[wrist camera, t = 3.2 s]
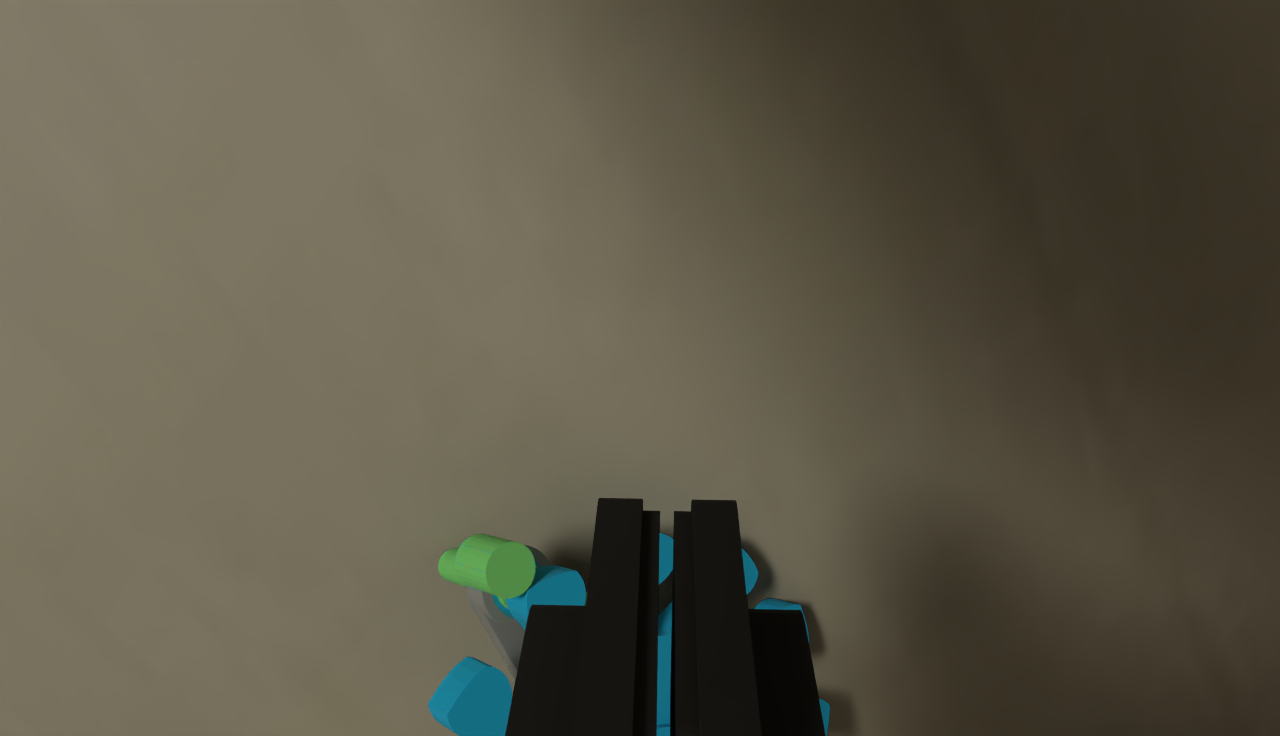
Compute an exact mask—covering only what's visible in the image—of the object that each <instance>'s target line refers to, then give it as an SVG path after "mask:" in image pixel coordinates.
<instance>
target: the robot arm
mask: <svg viewBox="0 0 1280 736" xmlns="http://www.w3.org/2000/svg"><path fill="white" fill-rule="evenodd" d="M659 540H660V511H643V499H624V498H599V499H598V506H597V515H596V524H595V532H594V541H593V550H592V558H591V567H590V576H589V585H588V593H587V602H586V606H579V605H532V606H531V607H530V610H529V614H528V618H527V623H526V628H525V634H524V639H523V644H522V649H521V654H520V660H519V665H518V670H517V675H516V680H515V686H514V691H513V696H512V701H511V706H510V712H509V717H508V722H507V727H506V732H505V736H657V675H658V608H659ZM670 736H826V735H825V729H824V724H823V718H822V713H821V707H820V702H819V696H818V691H817V685H816V680H815V674H814V669H813V663H812V658H811V652H810V647H809V641H808V636H807V630H806V625H805V620H804V616H803V613H802V611H801V610H779V609H748V603H747V594H746V585H745V575H744V566H743V557H742V547H741V538H740V529H739V519H738V510H737V503H736V500H692V502H691V512H688V511H674V539H673V584H672V630H671V675H670Z"/></svg>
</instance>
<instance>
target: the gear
mask: <svg viewBox="0 0 1280 736" xmlns="http://www.w3.org/2000/svg"><path fill="white" fill-rule="evenodd" d="M742 557H743V566H744V575H745V585H746V594H748V593H749V592H750V591H751V590H752V588H753V587H754V585H755V583H756V581H757V578H758V574H759V573H758V570H757V568H756V566H755V564H754V562H753V561H752V559H751V558H750V556H749V555H748V554H747V553H746V552H745V551H744V550H743V549H742ZM438 570H439V573H440V575H441V576H442V577H443V578H444V579H445V580H448V581H450V582H453V583H456V584H459V585H462V586H464V587H467V594H468V597H469V601H470V603H471V605H472V606H473V608H474V610H475V612H476V613H477V615H478V617H479V618H480V620H481V622H482V623H483V625H484V627H485V629H486V630H487V632H488V634H489V635H490V637H491V639H492V641H493V642H494V644H495V646H496V647H497V649H498V651H499V652H500V654H501V656H502V658H503V659H504V661H505V663H506V664H507V666H508V668H509V669H510V671H511V673H512V675H513V676H514V678H515V680H516V675H517V670H518V665H519V660H520V654H521V649H522V644H523V639H524V634H525V628H526V623H527V618H528V614H529V610H530V607H531V606H532V605H579V606H586V602H587V593H588V592H586V589H585V585H584V581H583V579H582V577H581V575H580V574H579V573H578V572H577V571H576V570H572V569H568V568H564V567H561V566H557V565H550V563H549V561H548V560H547V558H546V557H545V556H544V555H543V554H542V553H541V552H540V551H539V550H537V549H536V548H533V547H531V546H527V545H523V544H521V543H518V542H514V541H510V540H506V539H502V538H498V537H494V536H490V535H486V534H476V535H473V536H470V537H469V538H467V539H466V540H465V541H464V542H463V543H462V544H461V545H460V547H459V548H458V549H450V550H448V551H446V552H445V553H444V554H443V555H442V556H441V558H440V560H439V564H438ZM672 570H673V539H672V538H671V537H669V536H667V535H665V534H662V533H660V540H659V584H660V583H661V582H663V581H664V580H665V579H666V578H667V577H668V576H669V574H670V573H671V571H672ZM754 609H779V610H801V611H802V608H801V605H799V604H795V603H791V602H786V601H782V600H778V599H772V598H769V599H765V600H763V601H761V602H760V603H759V604H758V605H757V606H756V607H755V608H754ZM802 613H803V611H802ZM803 616H804V614H803ZM804 620H805V617H804ZM805 625H806V630H807V636H808V641H809V635H808V628H807V624H806V620H805ZM671 630H672V602H671V603H670V604H669V605H668V606H667V607H666V608H665V610H664V611H663V612H662V613H661V614H659V615H658V675H657V736H670V675H671ZM511 701H512V691H511V686H510V683H509V681H508V679H507V677H506V676H505V675H504V674H503V673H502V672H501V671H500V670H498V669H496V668H494V667H492V666H490V665H488V664H486V663H484V662H482V661H480V660H478V659H475V658H473V657H468V656H467V657H466V658H465V659H463V660H462V661H461V662H459V663H458V664H457V665H456V666H455V667H454V668H453V669H452V670H451V671H450V672H449V673H448V675H447V676H446V677H445V679H444V680H443V681H442V683H441V684H440V686H439V687H438V689H437V690H436V692H435V693H434V695H433V697H432V698H431V700H430V702H429V703H428V706H429V709H430V712H431V714H432V715H433V717H434V719H435V720H437V721H438V722H439V723H440V724H442V725H443V726H445V727H446V728H448V729H449V730H451V731H453V732H454V733H456V734H457V735H459V736H505V732H506V727H507V722H508V717H509V712H510V706H511ZM819 702H820V707H821V713H822V718H823V724H824V729H825V735H826V736H827V731H828V724H829V714H830V705H829V704H828V703H827V702H826V701H824V700H822V699H819Z"/></svg>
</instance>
